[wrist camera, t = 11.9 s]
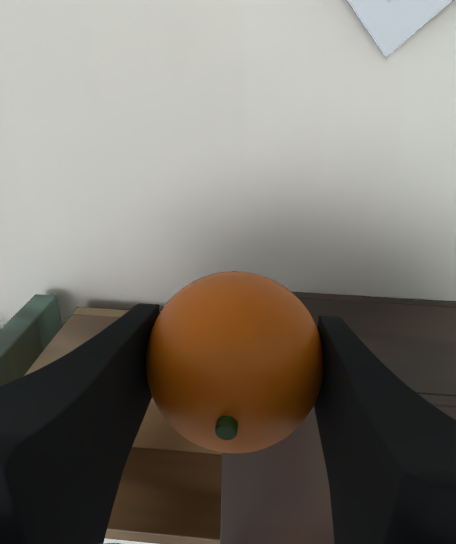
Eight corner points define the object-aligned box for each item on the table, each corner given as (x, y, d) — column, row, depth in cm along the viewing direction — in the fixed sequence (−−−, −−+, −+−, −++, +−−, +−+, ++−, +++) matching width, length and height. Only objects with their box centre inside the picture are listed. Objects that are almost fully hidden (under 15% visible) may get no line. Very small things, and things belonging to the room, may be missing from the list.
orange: (243, 394, 15) (232, 532, 11) (137, 312, 14) (76, 428, 10) (347, 313, 14) (385, 437, 9) (235, 212, 12) (217, 297, 8)
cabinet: (231, 453, 28) (219, 583, 21) (237, 288, 23) (222, 389, 16) (456, 472, 27) (521, 615, 20) (518, 305, 22) (636, 420, 15)
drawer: (-8, 436, 28) (-76, 528, 23) (-53, 288, 23) (-153, 358, 18) (272, 460, 27) (272, 564, 21) (286, 309, 22) (291, 392, 16)
